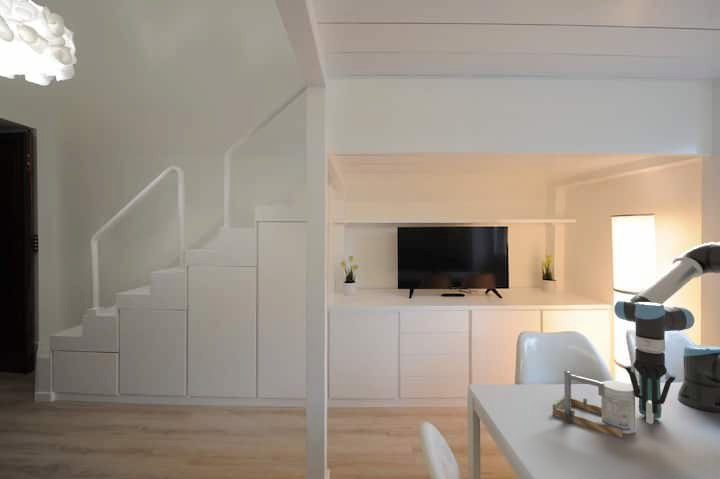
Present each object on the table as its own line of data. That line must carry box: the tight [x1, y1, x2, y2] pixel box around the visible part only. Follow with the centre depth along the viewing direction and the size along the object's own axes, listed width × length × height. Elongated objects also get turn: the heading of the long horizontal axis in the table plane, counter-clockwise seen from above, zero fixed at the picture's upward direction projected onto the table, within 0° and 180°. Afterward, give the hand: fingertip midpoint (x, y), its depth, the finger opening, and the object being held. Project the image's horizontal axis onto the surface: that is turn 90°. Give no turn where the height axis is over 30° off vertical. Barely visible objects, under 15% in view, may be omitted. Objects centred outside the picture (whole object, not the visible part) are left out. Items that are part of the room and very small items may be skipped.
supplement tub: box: [600, 380, 636, 435], centre depth 122 cm, size 10×10×15 cm
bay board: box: [552, 395, 623, 439], centre depth 128 cm, size 21×15×4 cm
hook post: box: [563, 370, 605, 424], centre depth 122 cm, size 12×2×18 cm, turn 42°
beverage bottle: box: [637, 373, 663, 420], centre depth 129 cm, size 6×7×20 cm
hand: (649, 421), depth 116 cm, fingers closed
